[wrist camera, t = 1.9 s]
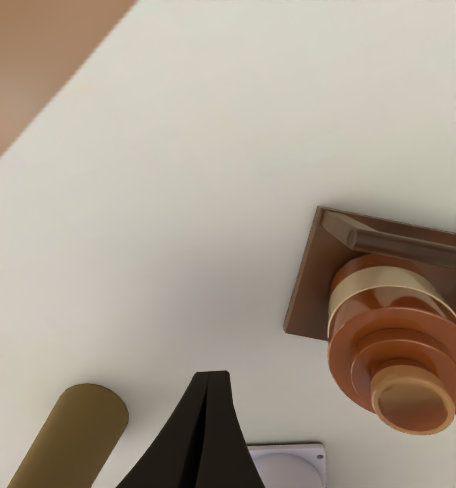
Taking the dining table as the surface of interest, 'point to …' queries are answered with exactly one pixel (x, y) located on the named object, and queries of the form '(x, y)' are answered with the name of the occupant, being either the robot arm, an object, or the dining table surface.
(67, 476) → the olive pawn
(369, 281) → the amber bottle
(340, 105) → the dining table surface
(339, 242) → the rack
